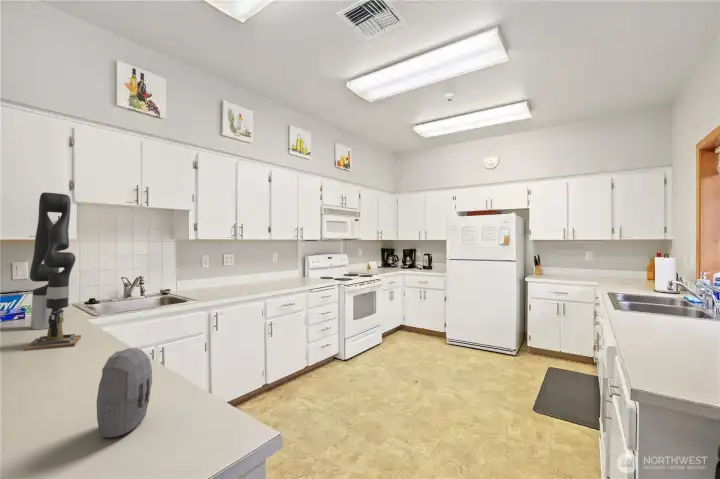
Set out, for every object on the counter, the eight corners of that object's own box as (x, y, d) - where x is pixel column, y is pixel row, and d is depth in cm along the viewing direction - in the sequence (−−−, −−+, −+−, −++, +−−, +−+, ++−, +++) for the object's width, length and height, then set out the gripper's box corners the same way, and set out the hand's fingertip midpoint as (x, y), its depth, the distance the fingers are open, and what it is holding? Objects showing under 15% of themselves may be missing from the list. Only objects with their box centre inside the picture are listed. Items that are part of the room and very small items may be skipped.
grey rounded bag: (127, 414, 94) (131, 340, 94) (159, 414, 94) (163, 340, 95) (88, 445, 79) (93, 357, 79) (126, 445, 79) (131, 358, 80)
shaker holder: (35, 341, 156) (36, 335, 156) (80, 337, 164) (81, 332, 164) (24, 350, 142) (25, 344, 143) (74, 346, 151) (74, 340, 151)
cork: (58, 342, 151) (60, 317, 152) (42, 343, 150) (43, 317, 150) (66, 339, 157) (68, 314, 157) (50, 339, 156) (52, 314, 156)
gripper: (50, 294, 158) (48, 332, 158) (42, 299, 146) (39, 340, 146) (71, 294, 162) (69, 331, 162) (65, 298, 150) (62, 338, 149)
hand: (55, 335), depth 154 cm, fingers open, 4 cm apart
